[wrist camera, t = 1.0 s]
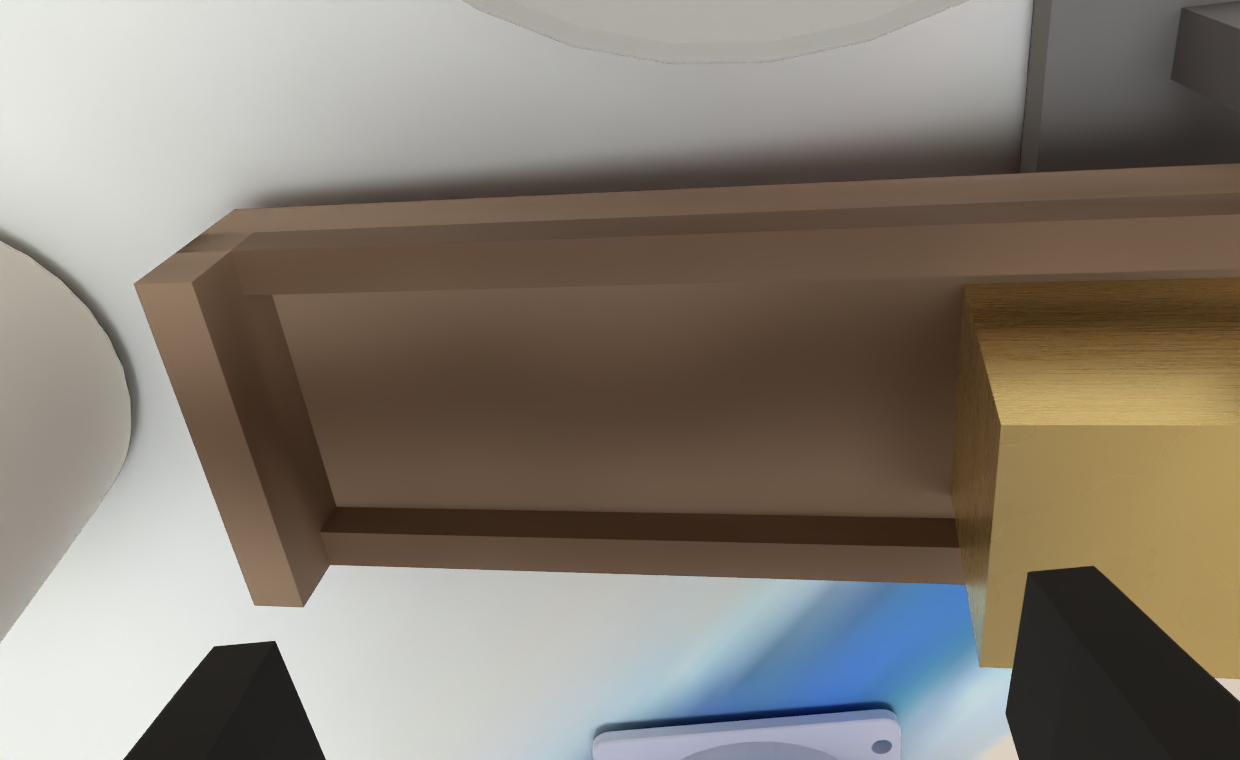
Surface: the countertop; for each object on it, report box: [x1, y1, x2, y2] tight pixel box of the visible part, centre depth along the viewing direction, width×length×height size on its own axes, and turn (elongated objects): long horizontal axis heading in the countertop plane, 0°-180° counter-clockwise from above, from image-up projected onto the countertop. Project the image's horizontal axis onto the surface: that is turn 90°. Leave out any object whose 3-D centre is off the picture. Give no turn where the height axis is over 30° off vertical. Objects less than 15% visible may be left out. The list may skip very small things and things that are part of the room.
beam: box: [134, 163, 1240, 607], centre depth 16 cm, size 7×32×3 cm, turn 96°
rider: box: [951, 277, 1240, 679], centre depth 15 cm, size 4×5×4 cm
